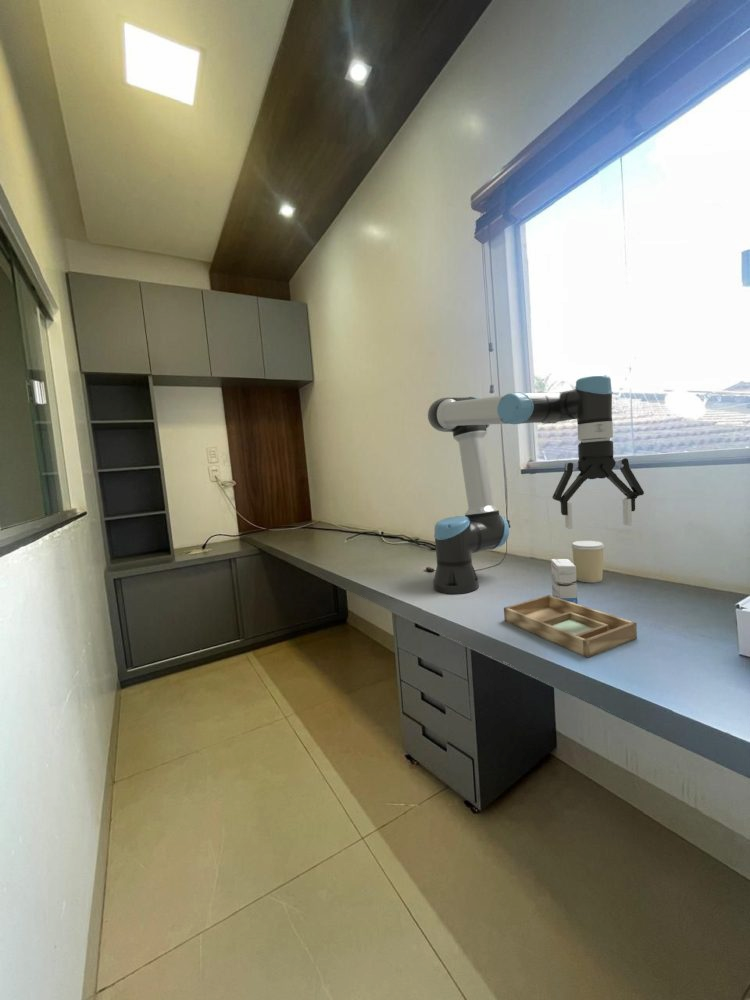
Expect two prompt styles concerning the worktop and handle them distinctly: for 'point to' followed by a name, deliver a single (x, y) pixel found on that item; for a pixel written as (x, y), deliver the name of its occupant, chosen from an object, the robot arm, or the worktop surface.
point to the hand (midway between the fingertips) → (597, 526)
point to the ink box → (564, 580)
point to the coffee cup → (588, 560)
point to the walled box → (571, 625)
